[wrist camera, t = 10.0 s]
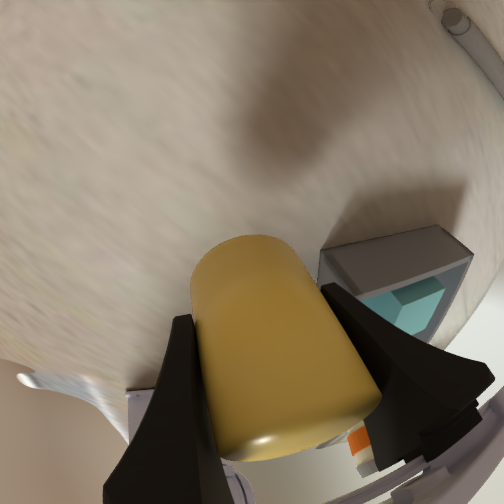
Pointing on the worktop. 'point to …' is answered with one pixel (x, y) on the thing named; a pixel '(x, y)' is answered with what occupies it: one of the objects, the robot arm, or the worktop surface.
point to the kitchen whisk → (475, 45)
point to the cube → (409, 304)
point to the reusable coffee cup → (361, 449)
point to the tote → (399, 267)
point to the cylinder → (273, 353)
